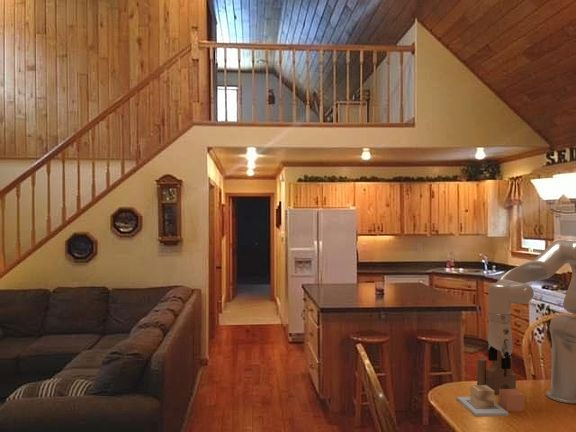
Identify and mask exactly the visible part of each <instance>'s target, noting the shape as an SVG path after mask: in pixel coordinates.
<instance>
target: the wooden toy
mask: <svg viewBox="0 0 576 432" xmlns="http://www.w3.org/2000/svg"><path fill="white" fill-rule="evenodd" d="M495 350H497V349H495ZM505 353H506V352H504V354H505ZM501 358H503V357H502V354H501V351H499V350H497V361H491V364H490V366H489V367H488V368H487V359H486V358H482V357H481V358H480V357H479V358H477V373H476V374H477V377H476V381H477V382H476V385H487V386H488V387H490V388H491V389H493V390H494V396H495V395H499V389H516V390H517V374H516V373H514V372H513V359H512V358H511V368H510V369H502V368H501Z"/></svg>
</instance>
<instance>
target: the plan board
mask: <svg viewBox="0 0 576 432" xmlns="http://www.w3.org/2000/svg"><path fill="white" fill-rule="evenodd" d="M456 401H457V402H459V403H460V404H461V405H462V406H463V407H464V408H465V409H467V410H468V411H469V412H470V413H471V414H472V415H474V416H475V417H509V416H510V413H509V411H506V410H505V409H503V408H502V407H501V406H499V403H497V402H496V401H494V408H477V407H476V406H475V405H474V404H473V403H471V402H470V396H456Z"/></svg>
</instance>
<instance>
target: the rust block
mask: <svg viewBox="0 0 576 432" xmlns="http://www.w3.org/2000/svg"><path fill="white" fill-rule="evenodd" d="M524 397H525V395H524V393H521V391H519V390H517V388H516V389H502V388H500V389H499V392H498V405H499V406H500V407H502V408H503V409H504V410H506V411H507V412H524V401H525V400H524Z"/></svg>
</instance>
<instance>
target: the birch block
mask: <svg viewBox="0 0 576 432" xmlns="http://www.w3.org/2000/svg"><path fill="white" fill-rule="evenodd" d="M469 397H470V402H471V403H473V404H474V405H475V406H476V407H477V408H494V402H495V395H494V390H493V389H491V388H490V387H488V386H487V385H477V384H473V385H471V384H470V396H469Z"/></svg>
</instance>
